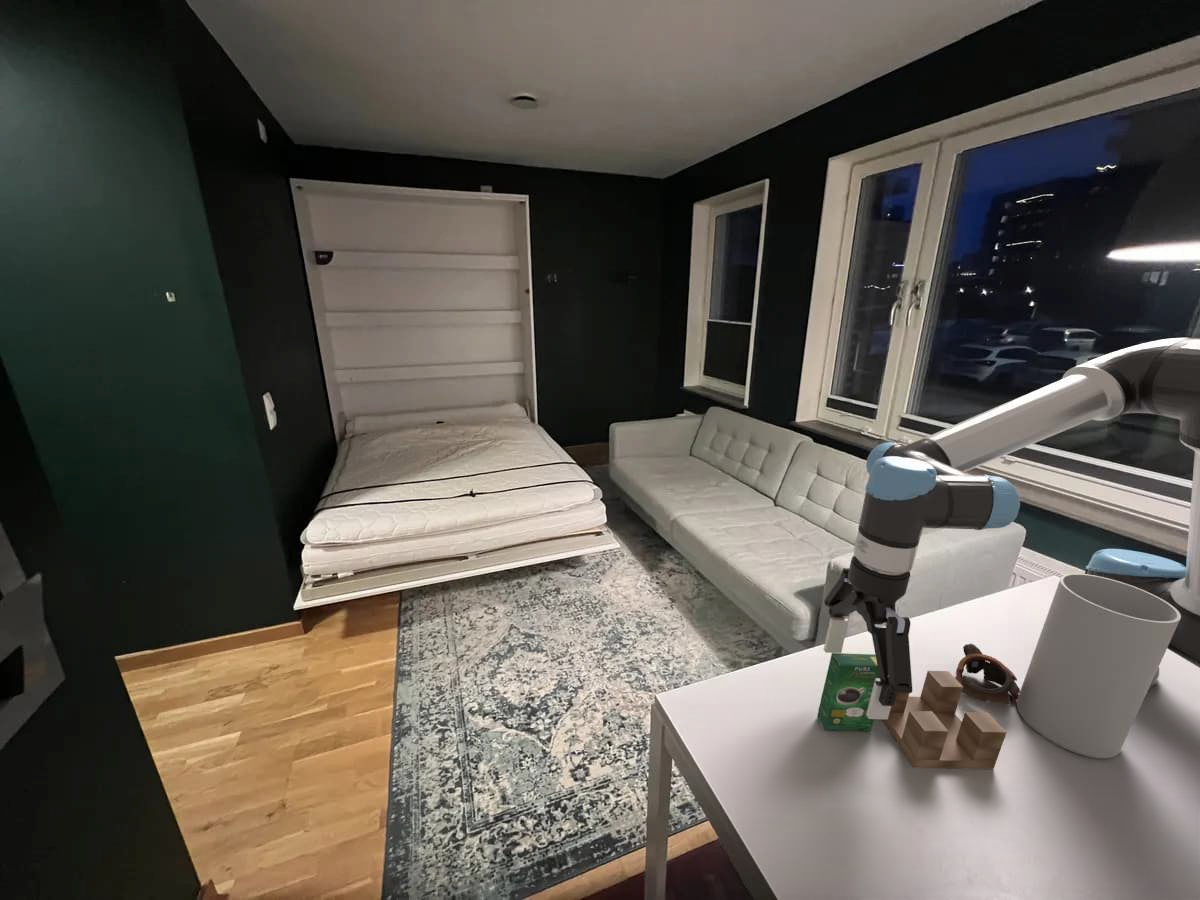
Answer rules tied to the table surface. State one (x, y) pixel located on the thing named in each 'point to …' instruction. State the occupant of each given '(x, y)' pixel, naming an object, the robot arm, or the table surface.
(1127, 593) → the cylinder vase
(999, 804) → the table surface
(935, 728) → the walnut cross socket
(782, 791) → the table surface
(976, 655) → the brown ring-shaped frame
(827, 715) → the coffee box
